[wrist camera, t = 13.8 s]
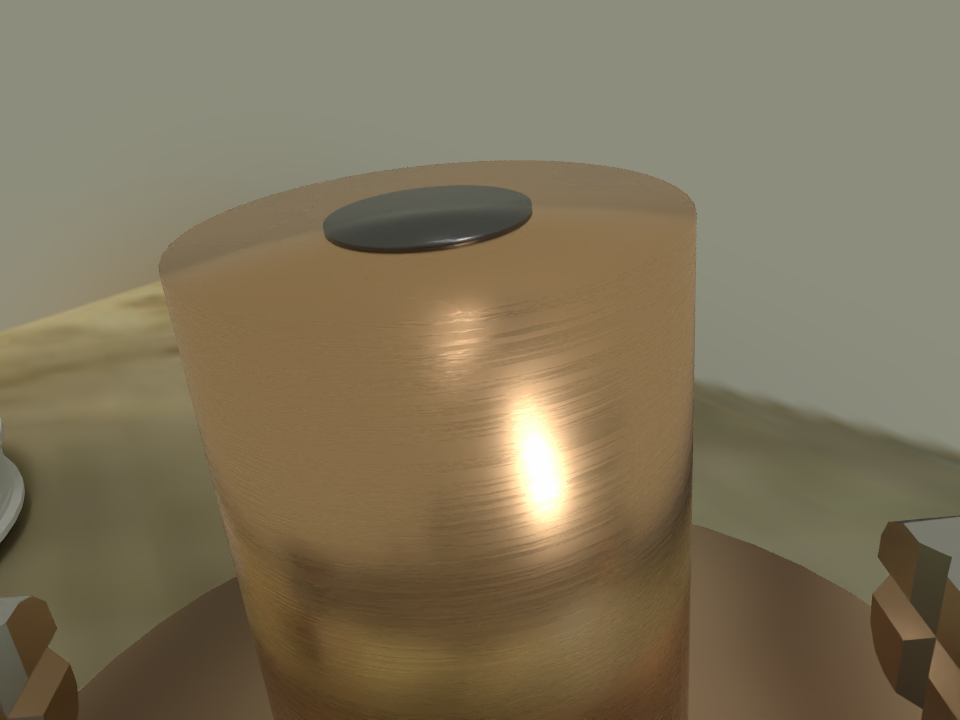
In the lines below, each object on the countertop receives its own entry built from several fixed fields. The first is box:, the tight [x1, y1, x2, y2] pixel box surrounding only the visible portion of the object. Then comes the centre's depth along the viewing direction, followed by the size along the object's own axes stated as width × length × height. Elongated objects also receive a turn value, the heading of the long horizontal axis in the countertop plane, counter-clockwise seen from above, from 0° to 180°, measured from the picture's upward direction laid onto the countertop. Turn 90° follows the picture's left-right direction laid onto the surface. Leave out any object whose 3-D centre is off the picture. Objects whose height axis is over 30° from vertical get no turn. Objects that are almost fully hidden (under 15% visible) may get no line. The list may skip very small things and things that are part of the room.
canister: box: [159, 160, 697, 720], centre depth 12 cm, size 6×6×10 cm
